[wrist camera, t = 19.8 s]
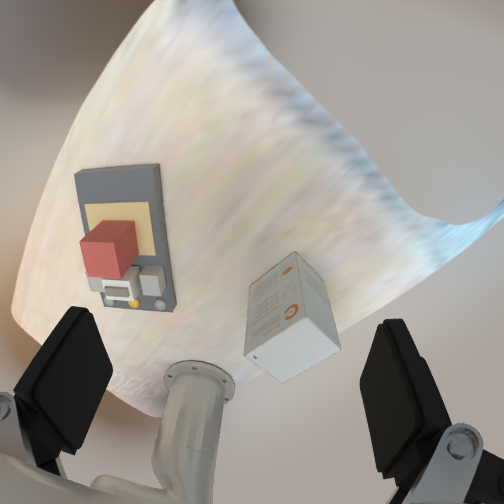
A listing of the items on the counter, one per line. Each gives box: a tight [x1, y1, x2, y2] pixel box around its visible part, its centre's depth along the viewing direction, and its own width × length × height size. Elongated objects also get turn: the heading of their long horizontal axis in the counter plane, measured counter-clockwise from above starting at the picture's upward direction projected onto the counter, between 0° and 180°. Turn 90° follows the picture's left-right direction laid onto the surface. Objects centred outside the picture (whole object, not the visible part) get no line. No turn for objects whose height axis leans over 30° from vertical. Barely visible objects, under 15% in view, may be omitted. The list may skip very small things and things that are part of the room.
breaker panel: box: [74, 164, 176, 312], centre depth 38 cm, size 20×11×4 cm, turn 0°
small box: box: [244, 252, 341, 383], centre depth 36 cm, size 8×6×13 cm
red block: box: [79, 220, 139, 279], centre depth 35 cm, size 4×4×6 cm
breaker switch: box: [101, 266, 142, 301], centre depth 38 cm, size 3×4×4 cm
